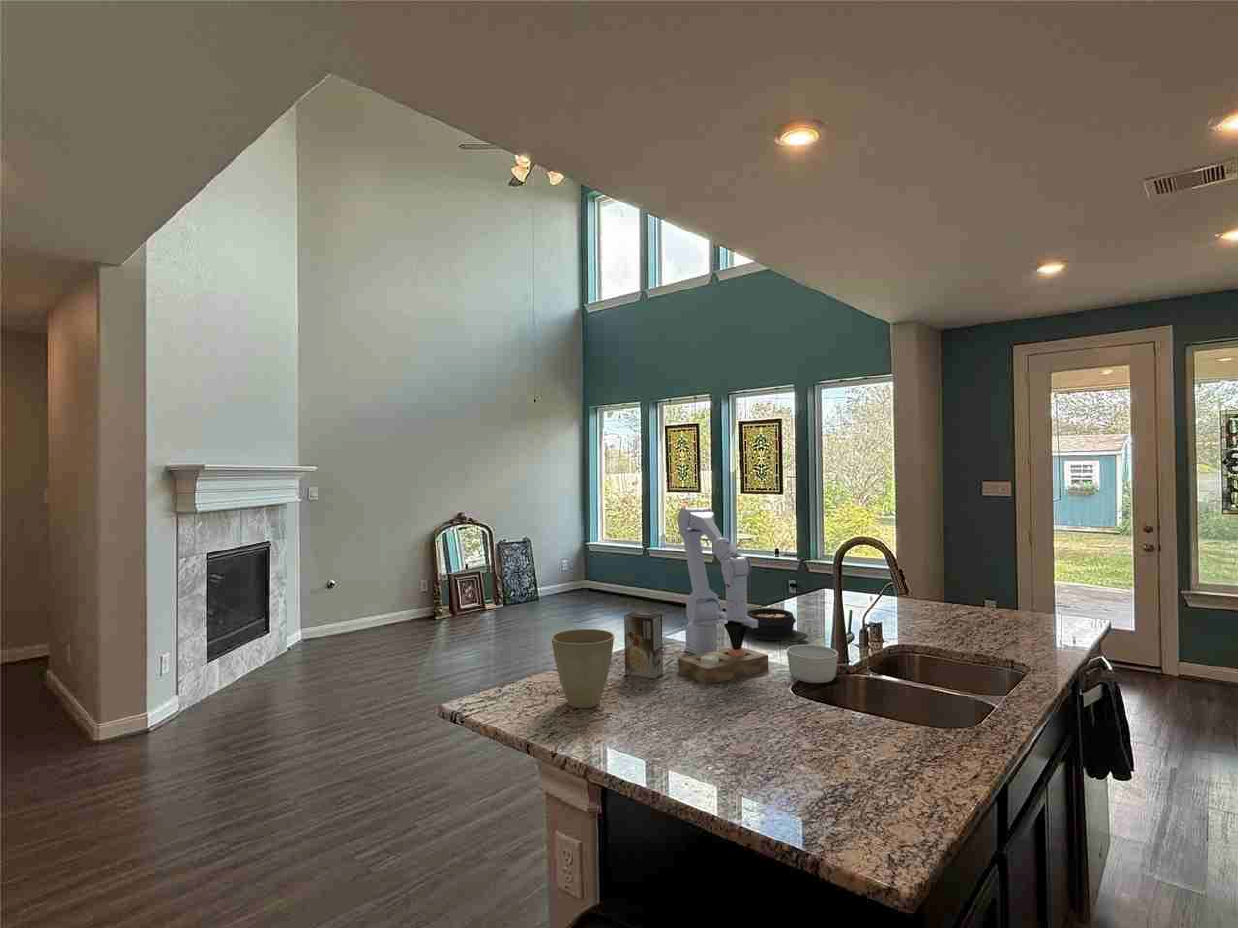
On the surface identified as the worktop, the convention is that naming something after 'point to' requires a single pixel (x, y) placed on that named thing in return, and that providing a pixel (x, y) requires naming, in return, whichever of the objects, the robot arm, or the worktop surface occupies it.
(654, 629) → the coffee box
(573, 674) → the plant pot
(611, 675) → the worktop surface
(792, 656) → the ramekin
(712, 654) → the button box
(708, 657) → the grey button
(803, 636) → the casserole
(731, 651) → the terracotta button
